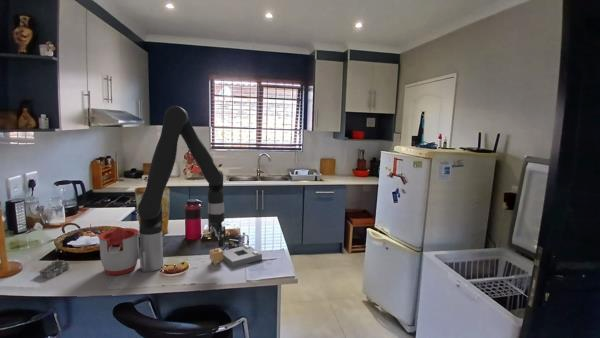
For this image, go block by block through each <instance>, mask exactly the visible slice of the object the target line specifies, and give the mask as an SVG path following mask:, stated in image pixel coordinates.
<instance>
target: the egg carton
mask: <svg viewBox="0 0 600 338" xmlns="http://www.w3.org/2000/svg"><path fill="white" fill-rule="evenodd" d="M69 270H70V262H69V261H68V262H67V261H65V262H64V261H63V260H59V259H58V258H57V259H55V260H53V261H52V262H51V264H48V265H46V267H43V268H42V269H41V270H39V271H38V274H39V277H40V278H41V279H42V278H45V277H46V278H47V279H52V278H56V277H57V275H59V274H63V273H64V271H69Z"/></svg>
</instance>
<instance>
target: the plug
mask: <svg viewBox="0 0 600 338" xmlns="http://www.w3.org/2000/svg"><path fill="white" fill-rule="evenodd" d="M223 251H224V250H223V249H221V247H218V248H213V249H210V250H209V259H210V260H211V261H210V262H211V264H213V265H214V266H217V265H218V264H220V263H222V260H223Z"/></svg>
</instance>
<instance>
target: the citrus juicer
mask: <svg viewBox="0 0 600 338" xmlns="http://www.w3.org/2000/svg"><path fill="white" fill-rule="evenodd" d="M98 239H99V253H100V254H99V256H100V261H101V265H102V267H103V270H104V271H105V273H106V274H108V275H111V276H119V275H123V274H128V273H130V272H131V271H132V272H133V271H134V269H135V268H136V266H137V264H138V260H139V256H140V251H139V248H140V247H139V246H140V241H139V229H136V228H133V227H132V228H131V227H124V228H122V227H120V226H118V227H116V228H115V229H109V230H106V231H103V232H102V233H100V234H99V235H98Z"/></svg>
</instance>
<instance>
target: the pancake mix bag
mask: <svg viewBox="0 0 600 338" xmlns="http://www.w3.org/2000/svg"><path fill="white" fill-rule="evenodd" d="M145 189H146V186H143V187H142V186H141V187H135V188H134V195H135V203H136V205H135V206H136V210H137V219H138V225H139V226H138V228H139V229H138V231H139V233H138V235H140V215H139V213H138V206H139V204H140V202H141V199H142V197H143V194H144V192H145ZM161 203H162V235H165V234H169V229H168V226H169V217H170V206H171V188H168V186H166V187H165V189H164V192H163V196H162V201H161Z"/></svg>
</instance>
